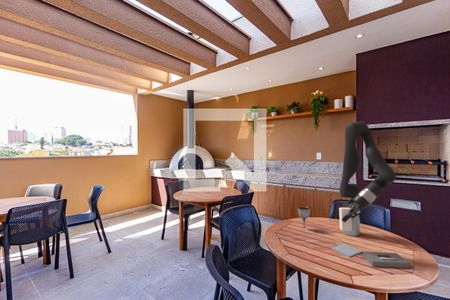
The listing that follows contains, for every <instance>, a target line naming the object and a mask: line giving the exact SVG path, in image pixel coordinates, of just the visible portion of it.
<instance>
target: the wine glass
mask: <svg viewBox="0 0 450 300" xmlns="http://www.w3.org/2000/svg"><path fill="white" fill-rule="evenodd" d="M310 209H311V208H310V207H308V206H297V212H298V216H299V217H300V218H301V220H302V222H303V226H302V227H303V228H306V227H307V226H305V224H306V220H307V219H308V218H309V216H310Z"/></svg>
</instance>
